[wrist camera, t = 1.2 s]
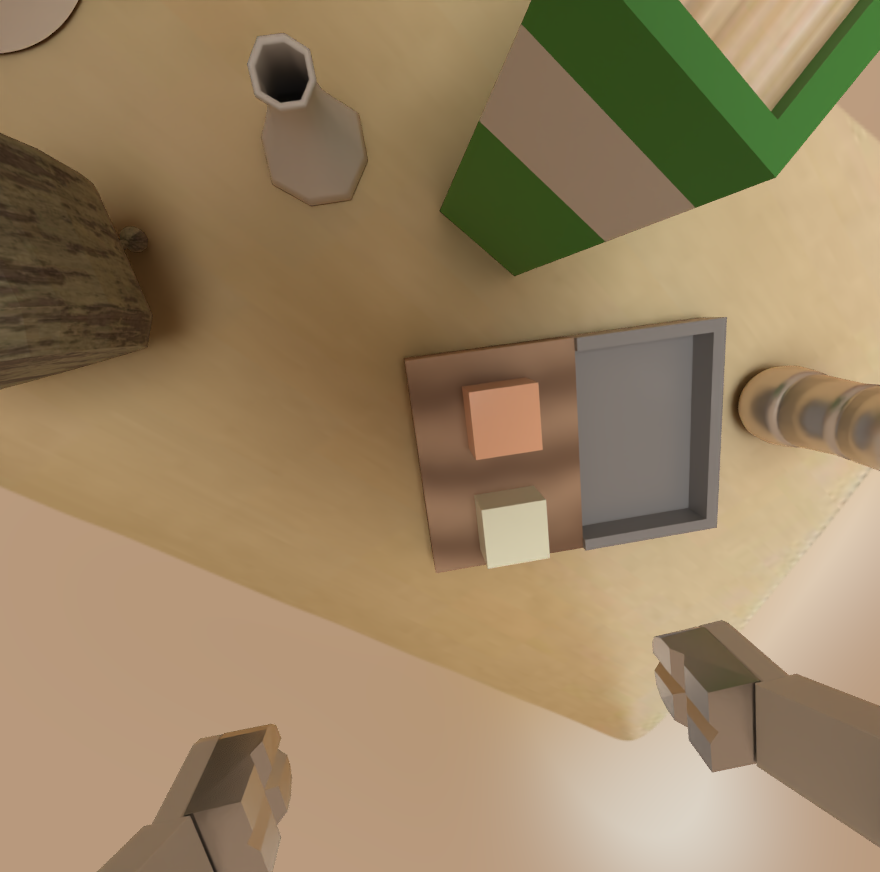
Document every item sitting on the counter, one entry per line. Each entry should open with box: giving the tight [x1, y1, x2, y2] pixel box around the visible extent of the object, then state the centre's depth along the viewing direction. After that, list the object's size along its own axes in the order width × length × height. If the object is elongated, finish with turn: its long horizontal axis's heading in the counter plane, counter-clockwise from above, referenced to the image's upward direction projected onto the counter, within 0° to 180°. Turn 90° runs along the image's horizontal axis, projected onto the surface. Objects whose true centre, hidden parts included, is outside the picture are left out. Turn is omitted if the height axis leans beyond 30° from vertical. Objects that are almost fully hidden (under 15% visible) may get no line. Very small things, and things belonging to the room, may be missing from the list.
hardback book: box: [440, 0, 880, 276], centre depth 20 cm, size 18×7×24 cm, turn 143°
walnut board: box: [404, 337, 583, 573], centre depth 36 cm, size 18×13×2 cm
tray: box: [562, 317, 727, 550], centre depth 37 cm, size 18×12×3 cm, turn 7°
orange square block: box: [462, 377, 543, 460], centre depth 33 cm, size 5×5×3 cm
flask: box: [247, 33, 368, 206], centre depth 26 cm, size 7×7×10 cm
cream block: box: [474, 486, 550, 569], centre depth 35 cm, size 5×5×3 cm
